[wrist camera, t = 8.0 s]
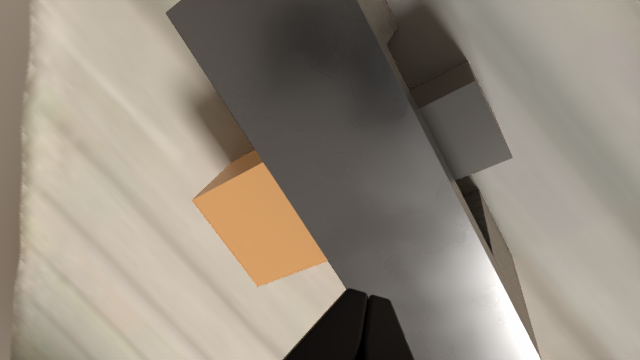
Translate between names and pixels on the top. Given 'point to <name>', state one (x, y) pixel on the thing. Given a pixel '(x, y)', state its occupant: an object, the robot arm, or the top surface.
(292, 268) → the plug
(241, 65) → the housing
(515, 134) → the top surface
